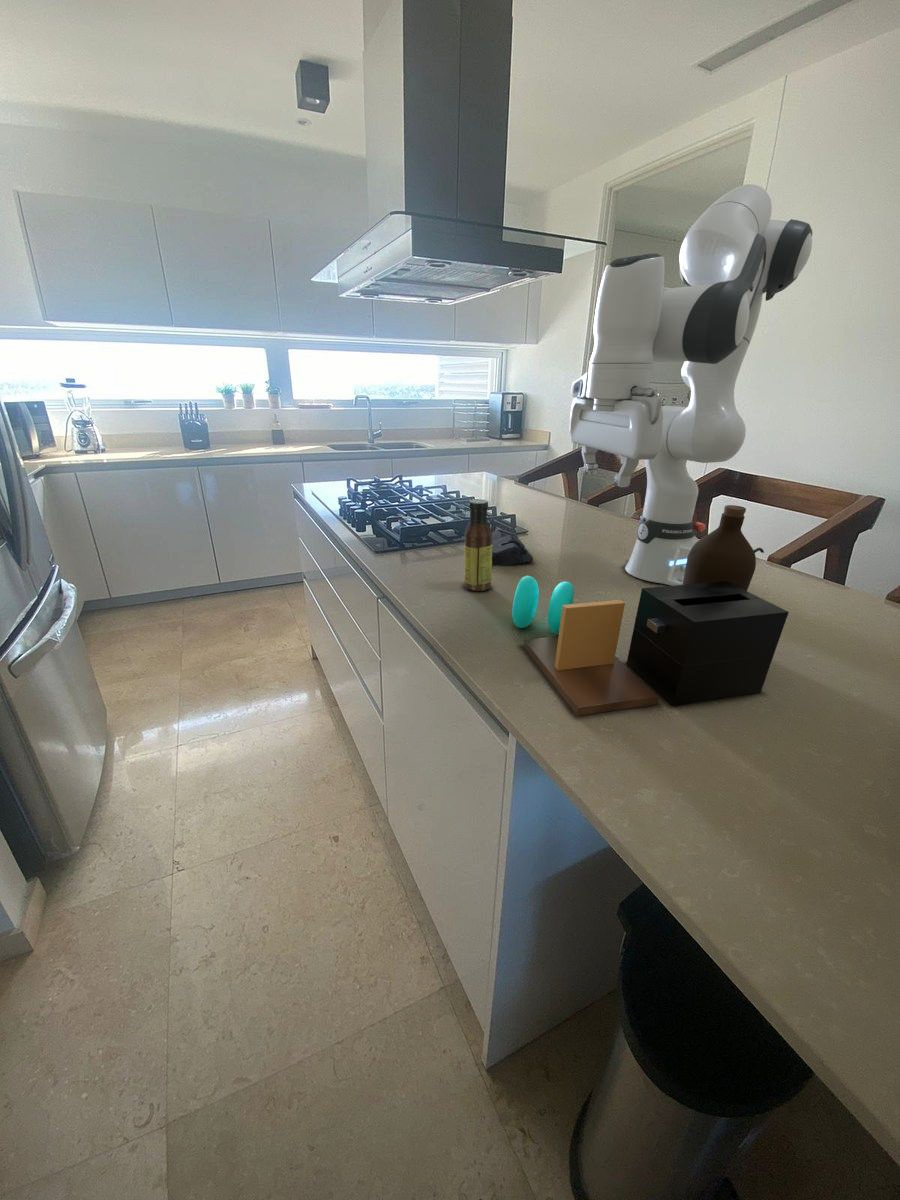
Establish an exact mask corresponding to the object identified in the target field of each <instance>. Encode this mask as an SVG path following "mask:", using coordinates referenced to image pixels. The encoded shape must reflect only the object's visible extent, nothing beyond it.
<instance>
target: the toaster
mask: <svg viewBox="0 0 900 1200" xmlns="http://www.w3.org/2000/svg"><path fill="white" fill-rule="evenodd" d="M789 613H790V611H788V610H786V609H784V608H781V607H780V606H778V605H776V604H774V603H771V602H769V601H767V600H766V599H764V598H761V597H760V596H757V595H755V594H753V593H751V592H750V591H748V590H747V591H745V590H743V589H741V588H739V587H737V586H735V585H733V584H731V583H729V582H727V581H722V582H710V583H698V584H686V585H674V586H671V585H663V586H652V587H641V592H640V596H639V600H638V605H637V610H636V614H635V619H634V620H635V621H634V625H633V630H632V635H631V640H630V644H629V649H628V655H627V659H626V663H625V665H627V666H628V668H629V669H630V670H631V671H632V672H633V673H635V674H636V675H637V676H638V677H639V678H641V680H643V682H644V683H645V684H646V685H648V686H649V687H650V688H651V689H653V691H654V692H655V693H656V694H657V695H658V696H660V697H662V699H664V701H666V702H667V703H668V704H669V705H670V706H671V707H676V706H678V707H679V706H683V705H689V704H697V703H704V702H709V701H710V702H711V701H715V700H716V701H717V700H723V699H728V698H729V699H730V698H736V697H742V696H749V695H755V694H761V693H762V690H763V687H764V684H765V681H766V678H767V675H768V673H769V670H770V667H771V664H772V661H773V658H774V656H775V653H776V650H777V647H778V644H779V641H780V638H781V636H782V633H783V630H784V627H785V625H786V622H787V619H788V615H789Z"/></svg>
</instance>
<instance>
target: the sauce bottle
mask: <svg viewBox="0 0 900 1200" xmlns="http://www.w3.org/2000/svg"><path fill="white" fill-rule="evenodd" d="M468 507H469V522H468V524H467V525H466V527H465V529H464V543H463V547H464V548H463V566H464V567H463V577H464V578H463V581H464V586H465V588H466V589H467V590H469V591H475V592H484V591H488V590H490V588H491V586H492V578H493V577H492V576H493V575H492V573H493V569H492V568H493V565H492V531H493V530H492V528H491V526H490V524H489V522H488V510H489V509H488V508H489V501H488V499H487V500H486V499H481V498H476V499H471V500H469V501H468Z"/></svg>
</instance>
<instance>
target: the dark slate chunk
mask: <svg viewBox="0 0 900 1200" xmlns="http://www.w3.org/2000/svg"><path fill="white" fill-rule="evenodd" d="M533 561H534V557H533V555H532V554H531V553H530V552H529V551H528V549H526V546H525V545H524V543H523V542H522V540H521V539H520V538H519V536H518V535H517V534H516V533H515V532H513V531H506V530H503V529H497V530H492V566H493V565H499V566H516V565H524V564H525V563H526V564H527V563H532V562H533Z"/></svg>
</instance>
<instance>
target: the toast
mask: <svg viewBox="0 0 900 1200" xmlns="http://www.w3.org/2000/svg"><path fill="white" fill-rule="evenodd" d="M625 605H626V602H625V601H623V600H622V599H615V600H613V599H612V600H603V601H590V602H581V603H573V604H568V605H563V607H562V615H561V622H560V629H559V635H558V636H559V637H558V644H557V652H556V659H555V668H556V669H557V670H566V669H574V668H582V667H590V666H598V665H606V664H613V663H614V658H615V656H616V653H617V647H618V642H619V637H620V633H621V627H622V621H623V616H624V610H625Z"/></svg>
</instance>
